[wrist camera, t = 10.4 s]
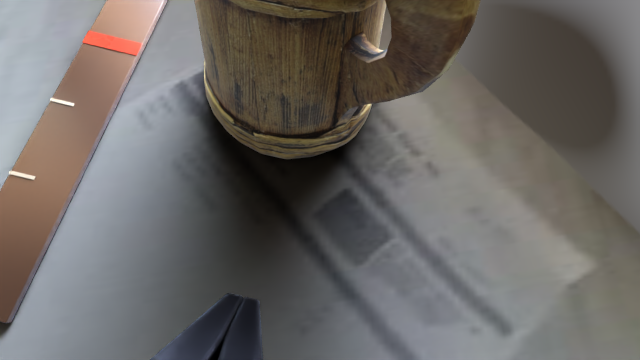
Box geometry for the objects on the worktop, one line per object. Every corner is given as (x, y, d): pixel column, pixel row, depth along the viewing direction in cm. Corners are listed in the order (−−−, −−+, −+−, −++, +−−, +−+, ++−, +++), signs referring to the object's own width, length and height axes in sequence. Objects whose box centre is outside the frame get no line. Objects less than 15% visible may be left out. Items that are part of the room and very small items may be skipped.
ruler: (12, 322, 14) (4, 323, 13) (-58, 305, 14) (-67, 306, 13) (180, -26, 20) (178, -32, 19) (132, -38, 20) (130, -44, 19)
